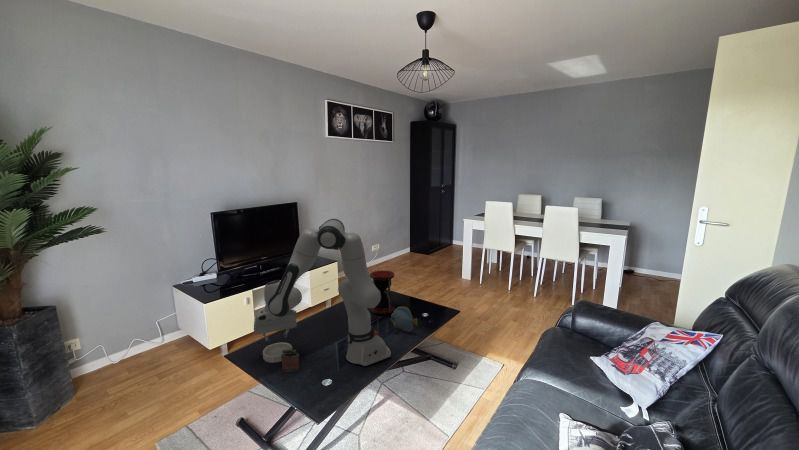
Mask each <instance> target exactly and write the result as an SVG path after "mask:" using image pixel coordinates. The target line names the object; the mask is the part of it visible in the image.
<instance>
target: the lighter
mask: <svg viewBox="0 0 799 450" xmlns="http://www.w3.org/2000/svg"><path fill="white" fill-rule="evenodd" d="M282 352H283V353H285V354H282V355H281V358H282V361H281V365H282V367H281V372H284V373H285V372H290V373H291V372H298V371H300V369H301V368H300V354H299V352H297V349H293V348H292V349H290V350H283V351H282Z"/></svg>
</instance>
